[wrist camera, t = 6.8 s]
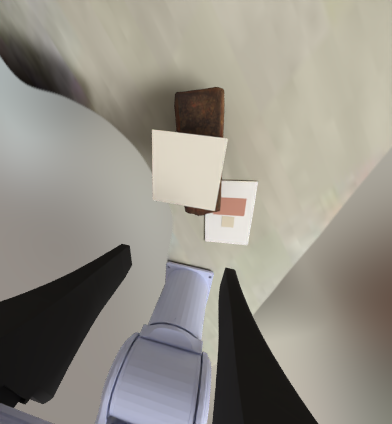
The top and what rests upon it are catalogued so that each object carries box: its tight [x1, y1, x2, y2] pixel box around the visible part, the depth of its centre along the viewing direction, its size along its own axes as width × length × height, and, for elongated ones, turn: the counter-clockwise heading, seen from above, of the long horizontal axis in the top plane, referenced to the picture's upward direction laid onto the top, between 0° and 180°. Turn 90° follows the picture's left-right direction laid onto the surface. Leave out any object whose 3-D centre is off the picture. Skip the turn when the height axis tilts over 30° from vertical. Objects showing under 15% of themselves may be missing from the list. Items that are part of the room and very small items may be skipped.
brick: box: [174, 87, 224, 216], centre depth 15 cm, size 11×4×5 cm, turn 2°
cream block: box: [152, 129, 228, 211], centre depth 11 cm, size 4×4×5 cm
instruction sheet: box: [205, 180, 258, 245], centre depth 20 cm, size 9×6×1 cm, turn 1°
